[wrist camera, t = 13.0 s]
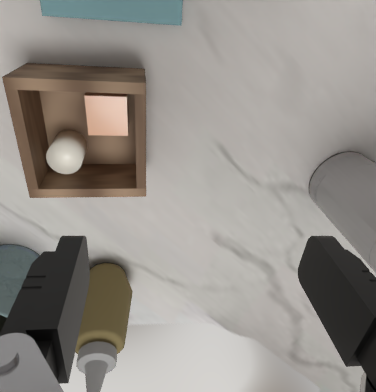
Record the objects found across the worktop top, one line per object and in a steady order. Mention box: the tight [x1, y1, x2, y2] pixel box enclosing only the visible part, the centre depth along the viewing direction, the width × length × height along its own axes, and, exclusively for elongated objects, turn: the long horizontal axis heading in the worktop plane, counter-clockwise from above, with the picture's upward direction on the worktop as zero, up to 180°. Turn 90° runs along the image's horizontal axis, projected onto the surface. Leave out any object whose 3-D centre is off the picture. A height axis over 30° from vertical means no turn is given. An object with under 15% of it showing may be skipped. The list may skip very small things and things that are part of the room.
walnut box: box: [2, 63, 146, 198], centre depth 33 cm, size 12×12×7 cm
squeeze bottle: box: [75, 263, 132, 392], centre depth 42 cm, size 8×8×18 cm
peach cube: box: [84, 92, 129, 136], centre depth 33 cm, size 4×4×4 cm
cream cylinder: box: [46, 130, 87, 174], centre depth 35 cm, size 4×4×4 cm
